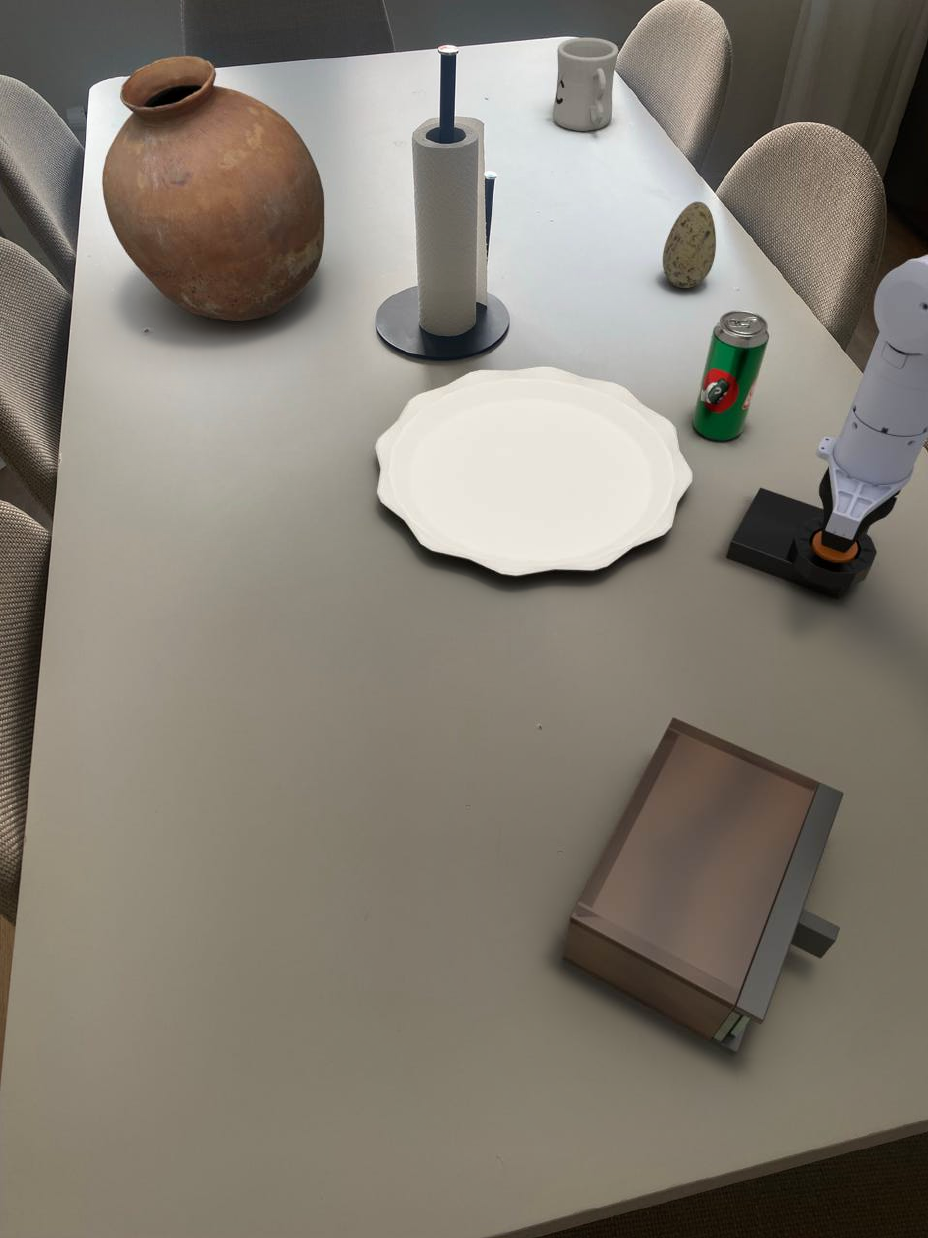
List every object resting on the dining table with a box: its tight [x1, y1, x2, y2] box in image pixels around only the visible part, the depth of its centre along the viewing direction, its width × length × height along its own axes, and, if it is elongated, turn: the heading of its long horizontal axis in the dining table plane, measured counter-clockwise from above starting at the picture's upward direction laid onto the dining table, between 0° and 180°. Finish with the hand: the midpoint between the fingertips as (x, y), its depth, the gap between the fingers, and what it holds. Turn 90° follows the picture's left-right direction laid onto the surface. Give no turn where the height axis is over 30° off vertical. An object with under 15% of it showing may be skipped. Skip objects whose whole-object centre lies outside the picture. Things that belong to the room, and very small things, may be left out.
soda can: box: [692, 310, 770, 442], centre depth 88 cm, size 5×5×12 cm
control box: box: [725, 487, 878, 601], centre depth 79 cm, size 11×9×4 cm
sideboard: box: [560, 717, 845, 1056], centre depth 58 cm, size 12×16×7 cm
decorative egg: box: [662, 201, 717, 289], centre depth 106 cm, size 6×6×10 cm
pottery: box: [101, 55, 325, 322], centre depth 99 cm, size 23×23×25 cm
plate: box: [374, 365, 693, 578], centre depth 87 cm, size 29×29×2 cm
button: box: [811, 531, 858, 563], centre depth 77 cm, size 4×4×2 cm
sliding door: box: [731, 908, 841, 1036], centre depth 54 cm, size 3×8×5 cm, turn 150°
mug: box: [552, 37, 619, 132], centre depth 136 cm, size 12×9×10 cm
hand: (835, 544), depth 76 cm, fingers closed, pressing on button
